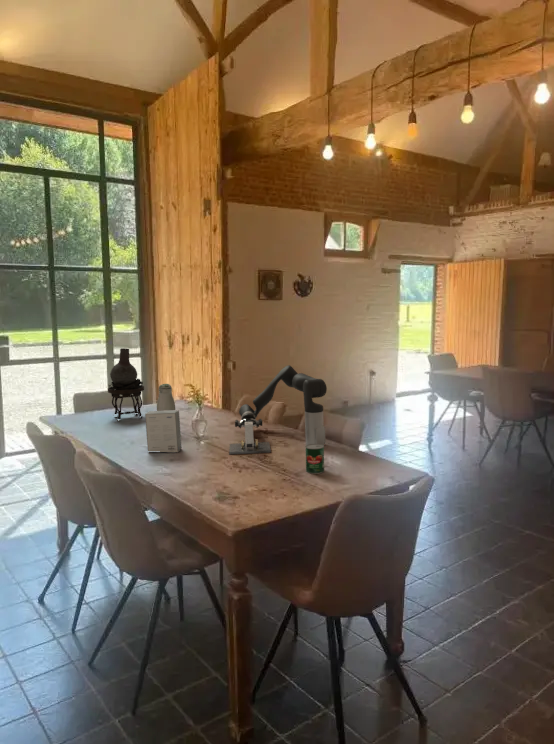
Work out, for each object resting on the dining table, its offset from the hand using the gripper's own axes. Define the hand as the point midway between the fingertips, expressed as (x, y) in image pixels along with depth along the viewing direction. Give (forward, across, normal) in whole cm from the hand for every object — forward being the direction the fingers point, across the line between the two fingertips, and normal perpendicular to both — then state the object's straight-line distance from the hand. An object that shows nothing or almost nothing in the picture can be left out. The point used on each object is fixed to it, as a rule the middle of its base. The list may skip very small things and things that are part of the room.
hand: (248, 426), depth 292 cm
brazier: (-82, -77, +10) cm, 113 cm away
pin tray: (+10, 0, +10) cm, 14 cm away
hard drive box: (+6, -42, +10) cm, 44 cm away
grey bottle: (-35, -46, +10) cm, 58 cm away
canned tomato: (+51, +27, +10) cm, 58 cm away
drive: (+10, 0, +8) cm, 13 cm away
